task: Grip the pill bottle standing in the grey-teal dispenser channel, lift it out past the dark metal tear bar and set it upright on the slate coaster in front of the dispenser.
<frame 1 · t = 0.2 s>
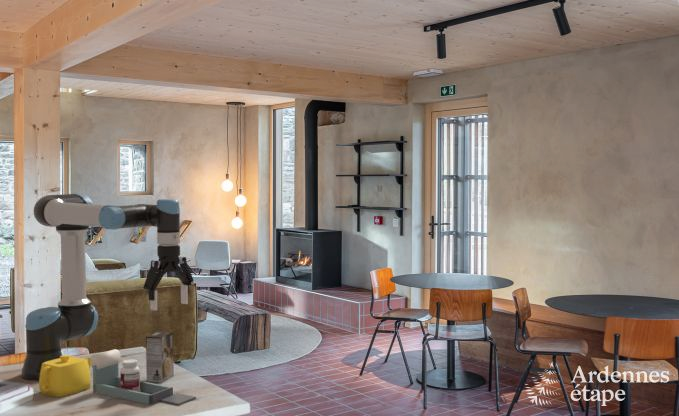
hand: (169, 306, 250), 27 cm above the table, fingers open, 13 cm apart
coffee box: (160, 379, 259), on the table
teapot: (67, 390, 247), on the table
pill bottle: (130, 394, 242), resting in dispenser
coaster: (177, 400, 235), on the table
dispenser: (132, 394, 241), on the table
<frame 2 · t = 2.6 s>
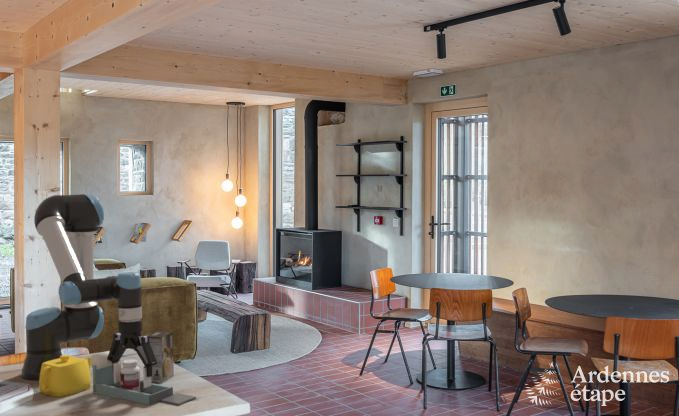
hand: (132, 384, 241), 3 cm above the table, fingers open, 13 cm apart
nothing on the table moved.
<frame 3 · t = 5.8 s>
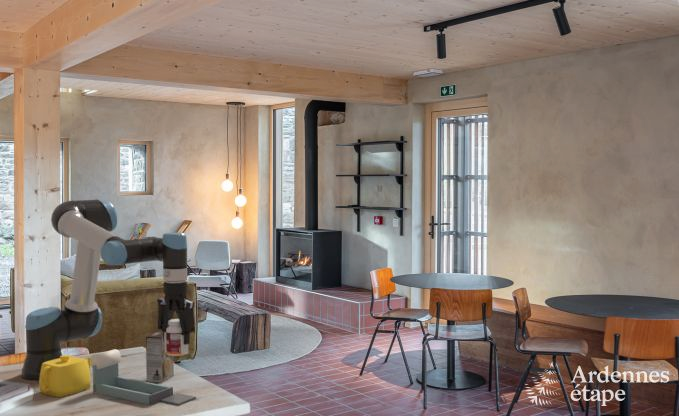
hand: (176, 352, 235), 15 cm above the table, fingers closed on pill bottle, 6 cm apart
pill bottle: (176, 354, 235), point 15 cm above the table, touching gripper
everything else where it was.
when the fingers open (3 cm above the table, at t = 8.5 s): pill bottle drops 1 cm, resting on coaster.
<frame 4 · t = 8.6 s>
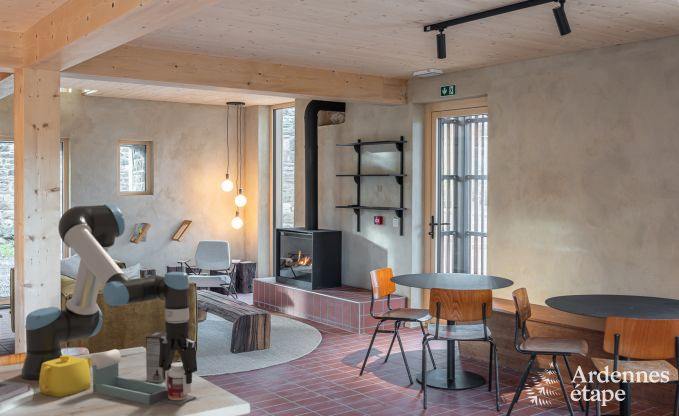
hand: (178, 391, 235), 3 cm above the table, fingers open, 7 cm apart
pill bottle: (177, 398, 235), point 1 cm above the table, touching coaster
everything else where it was.
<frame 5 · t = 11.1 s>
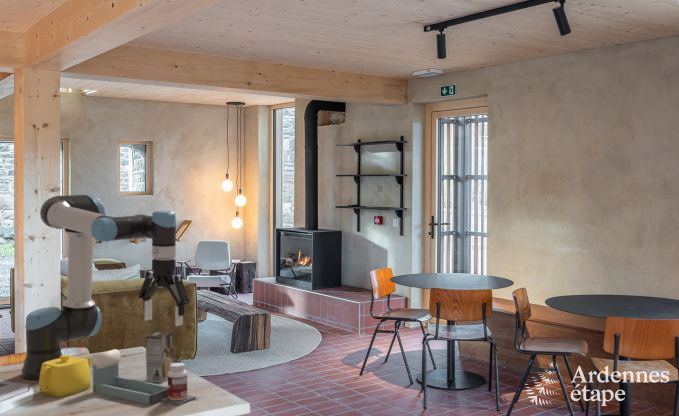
hand: (163, 322, 241), 24 cm above the table, fingers open, 13 cm apart
nothing on the table moved.
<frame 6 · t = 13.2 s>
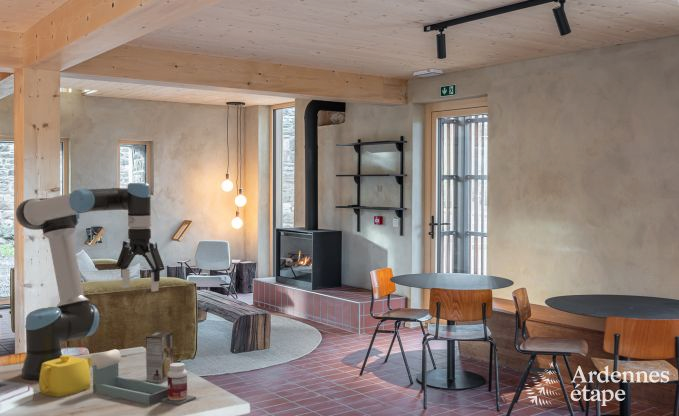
hand: (140, 289, 253), 33 cm above the table, fingers open, 13 cm apart
nothing on the table moved.
at the end: pill bottle inside the target area on the coaster (0.1 cm from its centre), point 0.4 cm above the coaster's base; pill bottle tilted 0°; the gripper is holding nothing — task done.
